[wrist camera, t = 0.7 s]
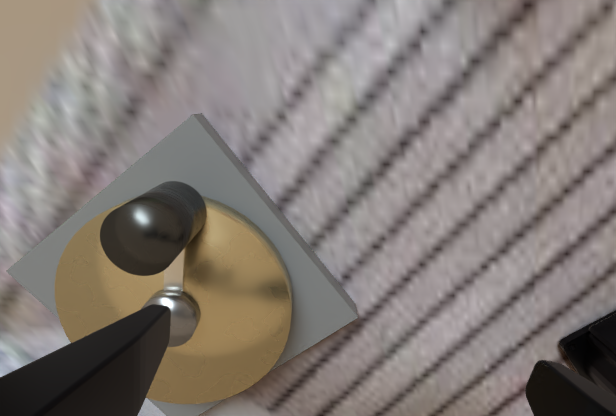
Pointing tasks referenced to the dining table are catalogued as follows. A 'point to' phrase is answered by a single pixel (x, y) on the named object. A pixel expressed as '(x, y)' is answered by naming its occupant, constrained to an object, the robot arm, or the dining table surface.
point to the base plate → (230, 191)
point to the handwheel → (182, 288)
